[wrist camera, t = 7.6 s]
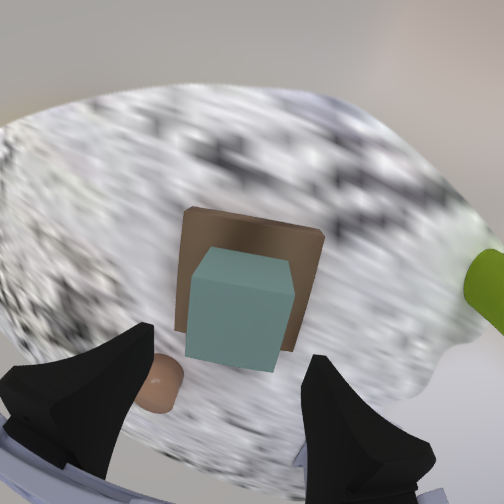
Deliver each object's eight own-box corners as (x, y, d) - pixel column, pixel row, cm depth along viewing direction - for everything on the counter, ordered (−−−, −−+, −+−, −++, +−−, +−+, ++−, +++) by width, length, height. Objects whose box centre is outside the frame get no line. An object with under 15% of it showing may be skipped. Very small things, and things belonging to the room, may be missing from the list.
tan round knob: (184, 359, 24) (173, 389, 20) (183, 388, 25) (173, 418, 21) (143, 348, 24) (126, 376, 20) (145, 378, 25) (131, 405, 21)
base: (319, 229, 19) (325, 236, 18) (291, 337, 22) (292, 351, 20) (191, 206, 19) (184, 211, 18) (181, 317, 22) (174, 330, 20)
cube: (288, 260, 18) (295, 295, 13) (272, 326, 20) (272, 372, 15) (210, 246, 18) (191, 276, 13) (202, 313, 20) (184, 356, 15)
